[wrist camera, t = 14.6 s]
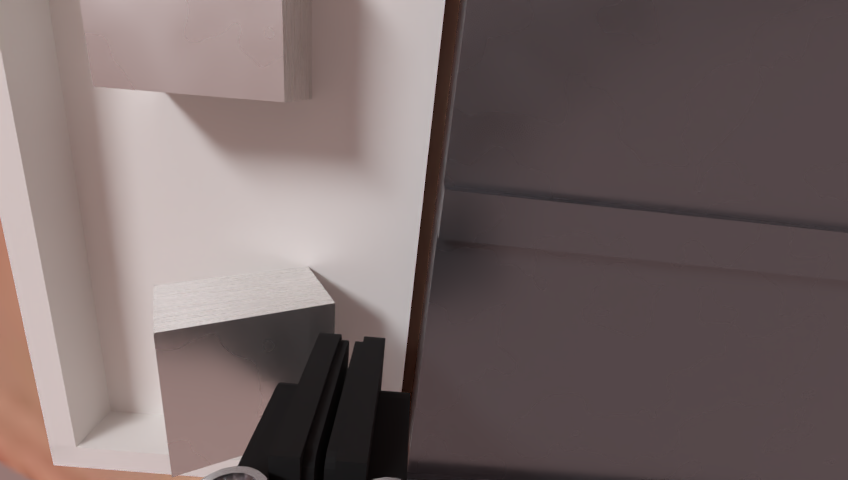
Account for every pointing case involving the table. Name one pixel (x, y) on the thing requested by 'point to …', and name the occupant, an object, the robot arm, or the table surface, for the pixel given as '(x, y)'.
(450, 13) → the table surface
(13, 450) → the table surface
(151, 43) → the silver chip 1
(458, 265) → the slot block
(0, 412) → the table surface
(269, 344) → the grey square block
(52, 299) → the tray
